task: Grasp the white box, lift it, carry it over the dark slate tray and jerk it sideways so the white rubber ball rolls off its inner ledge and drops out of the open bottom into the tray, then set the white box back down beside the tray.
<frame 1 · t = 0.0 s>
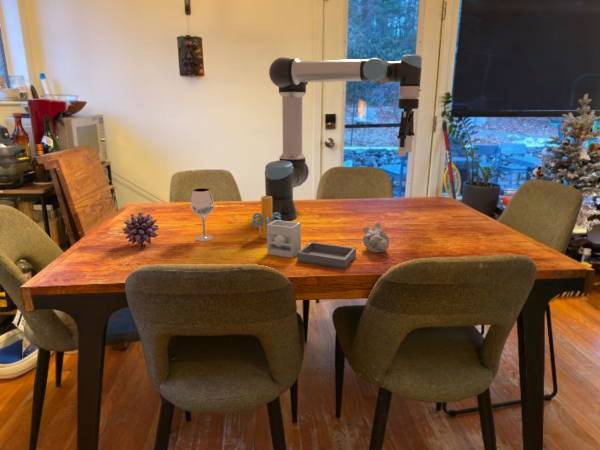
hand: (404, 154, 171), 28 cm above the table, fingers open, 13 cm apart
ball: (279, 241, 142), point 4 cm above the table, touching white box
figurine: (374, 251, 145), on the table
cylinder: (267, 237, 159), on the table
wineglass: (204, 239, 157), on the table
flower: (142, 246, 149), on the table
tray: (326, 259, 137), on the table
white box: (284, 252, 142), on the table, touching ball
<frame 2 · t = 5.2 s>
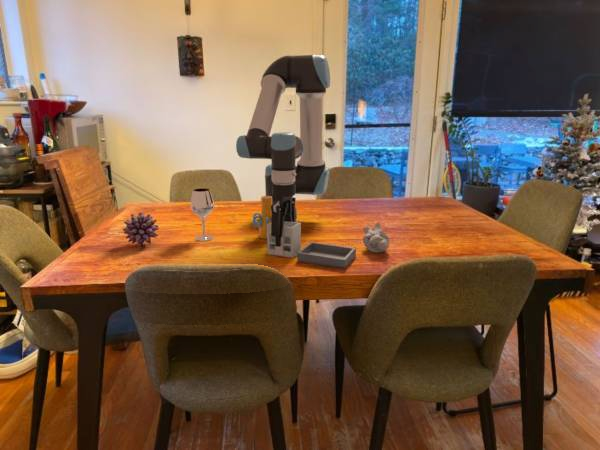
hand: (284, 251, 142), 0 cm above the table, fingers closed on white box, 6 cm apart
ball: (279, 240, 142), point 4 cm above the table, tilted 8°, touching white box
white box: (284, 252, 142), on the table, touching ball, gripper
everything else where it was.
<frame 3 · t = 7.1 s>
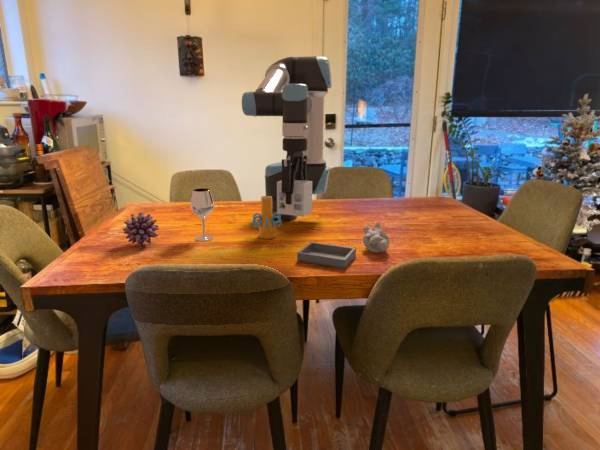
hand: (294, 211, 136), 15 cm above the table, fingers closed on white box, 6 cm apart
ball: (289, 200, 136), point 18 cm above the table, tilted 10°, touching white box
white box: (294, 212, 136), point 14 cm above the table, touching ball, gripper
everything else where it was.
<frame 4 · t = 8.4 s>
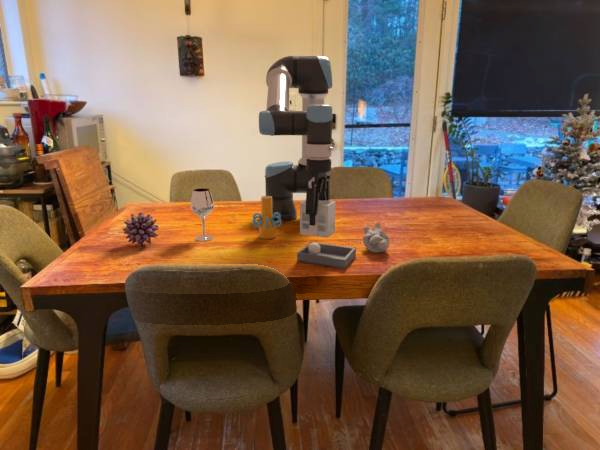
hand: (317, 231, 135), 9 cm above the table, fingers closed on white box, 6 cm apart
ball: (314, 248, 139), point 3 cm above the table, tilted 72°, touching tray
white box: (317, 233, 135), point 8 cm above the table, touching gripper
everything else where it was.
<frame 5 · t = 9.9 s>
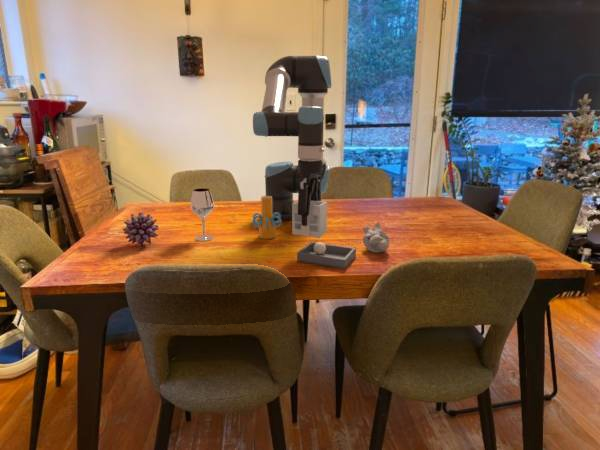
hand: (309, 231, 137), 8 cm above the table, fingers closed on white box, 6 cm apart
ball: (319, 248, 139), point 3 cm above the table, tilted 46°, touching tray
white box: (309, 233, 137), point 8 cm above the table, touching gripper
everything else where it was.
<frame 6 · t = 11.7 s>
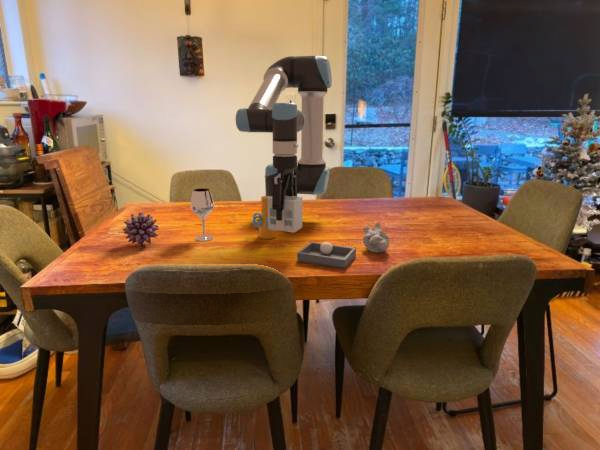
hand: (285, 226, 138), 9 cm above the table, fingers closed on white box, 6 cm apart
ball: (326, 248, 139), point 3 cm above the table, tilted 63°, touching tray
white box: (285, 228, 138), point 9 cm above the table, touching gripper
everything else where it was.
when the fingers open (1 cm above the table, at t = 13.2 s): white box stays where it is, on the table.
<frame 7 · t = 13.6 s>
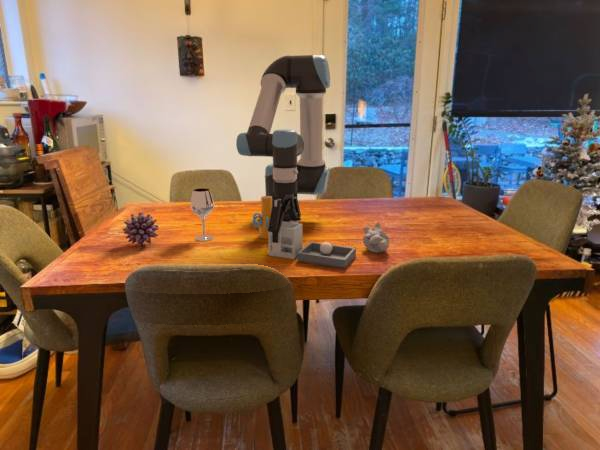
hand: (285, 245, 140), 3 cm above the table, fingers open, 12 cm apart
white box: (285, 254, 141), on the table
everything else where it was.
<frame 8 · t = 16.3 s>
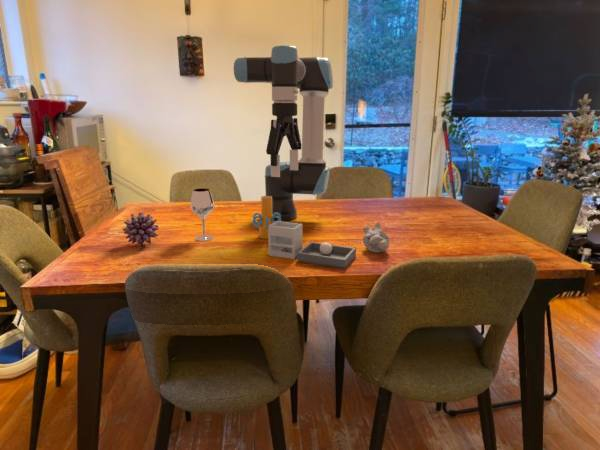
hand: (285, 173, 134), 27 cm above the table, fingers open, 13 cm apart
ball: (325, 248, 139), point 3 cm above the table, tilted 51°, touching tray
everything else where it was.
at the end: ball inside the target area on the tray (2.9 cm from its centre), point 2.6 cm above the tray's base; the gripper is holding nothing; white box tilted 0° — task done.
